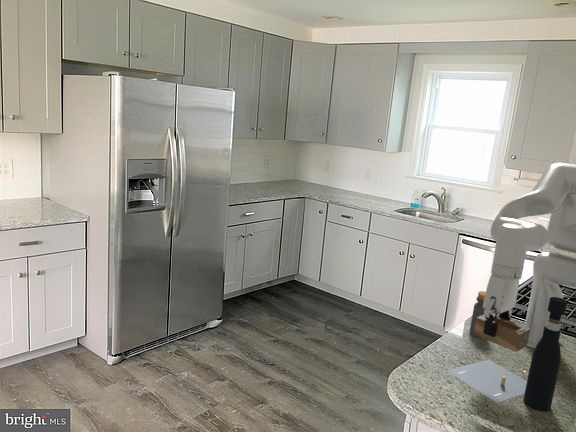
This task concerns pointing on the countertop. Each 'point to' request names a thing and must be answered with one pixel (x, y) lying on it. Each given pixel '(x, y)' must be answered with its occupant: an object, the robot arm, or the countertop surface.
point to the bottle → (477, 311)
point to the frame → (504, 333)
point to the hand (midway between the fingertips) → (495, 331)
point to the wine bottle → (546, 360)
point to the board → (491, 380)
